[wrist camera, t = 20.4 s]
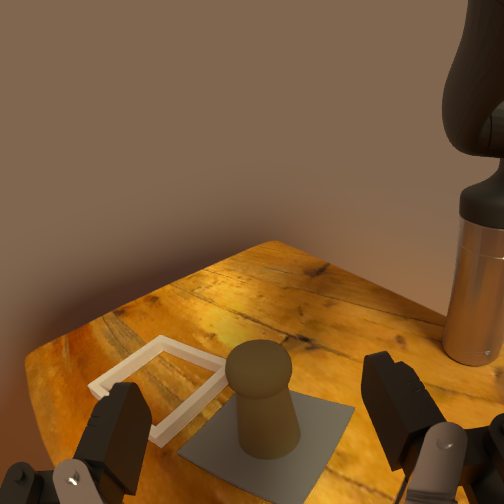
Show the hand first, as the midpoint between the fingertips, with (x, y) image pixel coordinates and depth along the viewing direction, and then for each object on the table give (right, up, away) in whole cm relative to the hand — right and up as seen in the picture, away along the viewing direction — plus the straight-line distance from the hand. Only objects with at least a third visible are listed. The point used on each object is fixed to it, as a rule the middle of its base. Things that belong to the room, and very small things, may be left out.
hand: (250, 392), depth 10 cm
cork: (+2, -13, +16) cm, 21 cm away
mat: (+2, -13, +16) cm, 21 cm away
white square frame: (-11, -12, +25) cm, 30 cm away
